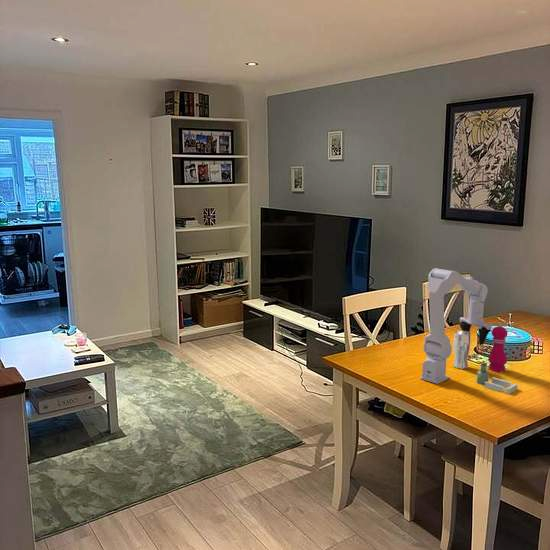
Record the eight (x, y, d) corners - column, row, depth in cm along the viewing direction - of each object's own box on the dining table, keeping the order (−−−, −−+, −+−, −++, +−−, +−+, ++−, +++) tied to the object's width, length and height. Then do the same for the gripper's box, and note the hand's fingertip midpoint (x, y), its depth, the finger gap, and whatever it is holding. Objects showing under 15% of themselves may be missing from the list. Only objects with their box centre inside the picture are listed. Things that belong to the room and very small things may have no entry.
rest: (508, 394, 203) (509, 389, 202) (484, 386, 210) (484, 382, 209) (517, 389, 207) (517, 384, 207) (493, 382, 214) (493, 377, 214)
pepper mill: (505, 367, 230) (508, 321, 227) (507, 373, 223) (511, 326, 220) (486, 365, 232) (489, 320, 228) (488, 371, 225) (491, 325, 222)
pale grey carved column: (450, 368, 230) (452, 333, 227) (453, 362, 236) (455, 329, 233) (467, 370, 227) (470, 336, 224) (470, 365, 233) (472, 331, 230)
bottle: (484, 385, 211) (486, 365, 209) (474, 382, 214) (476, 363, 212) (490, 382, 214) (491, 363, 212) (480, 379, 217) (481, 360, 215)
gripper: (497, 313, 226) (494, 344, 228) (467, 306, 238) (465, 336, 240) (486, 315, 222) (484, 347, 224) (457, 308, 234) (455, 338, 236)
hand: (473, 341), depth 232 cm, fingers open, 7 cm apart
